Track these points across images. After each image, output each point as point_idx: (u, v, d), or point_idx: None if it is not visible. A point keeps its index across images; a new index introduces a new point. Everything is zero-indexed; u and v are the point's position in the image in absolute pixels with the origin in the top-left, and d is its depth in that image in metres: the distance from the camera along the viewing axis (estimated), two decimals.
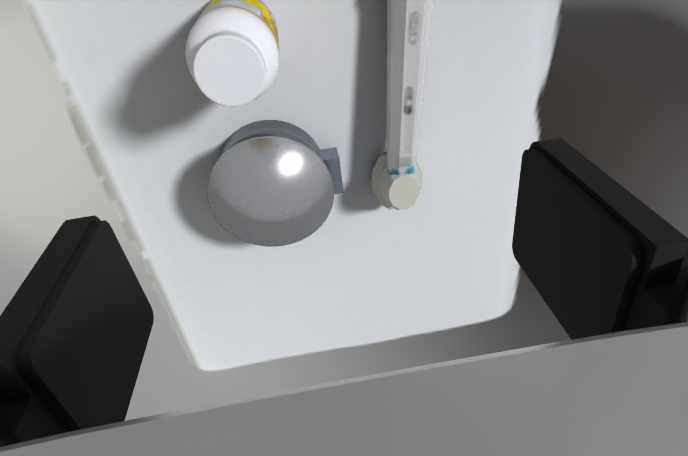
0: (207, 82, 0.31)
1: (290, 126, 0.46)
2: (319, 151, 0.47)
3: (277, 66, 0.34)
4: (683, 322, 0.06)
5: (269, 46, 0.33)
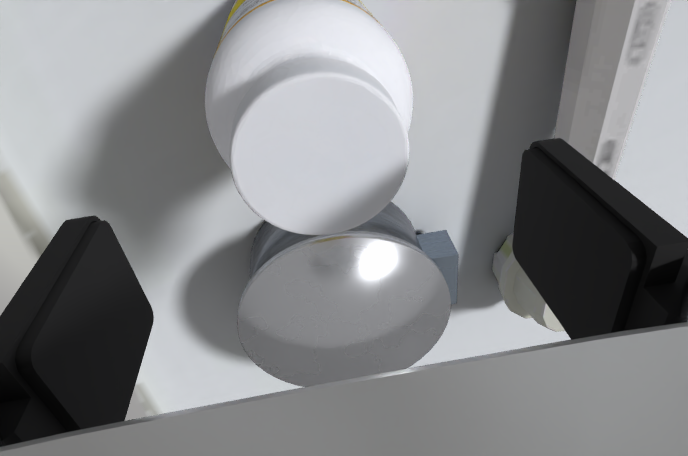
0: (264, 187, 0.12)
1: None
2: (419, 238, 0.28)
3: (408, 128, 0.15)
4: (683, 322, 0.06)
5: (402, 87, 0.14)
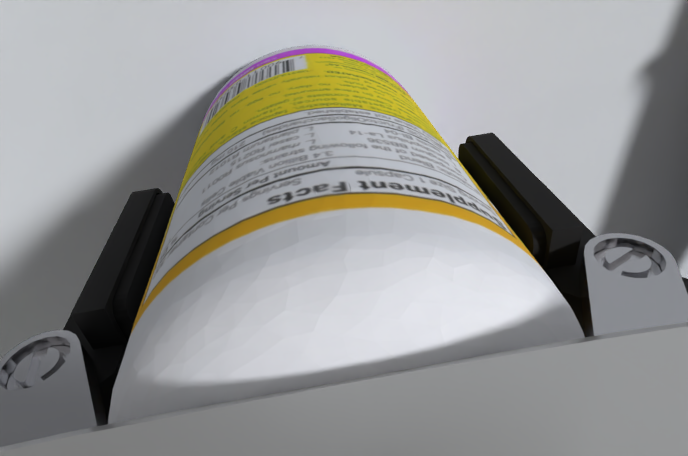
0: None
1: None
2: None
3: None
4: (586, 309, 0.06)
5: None
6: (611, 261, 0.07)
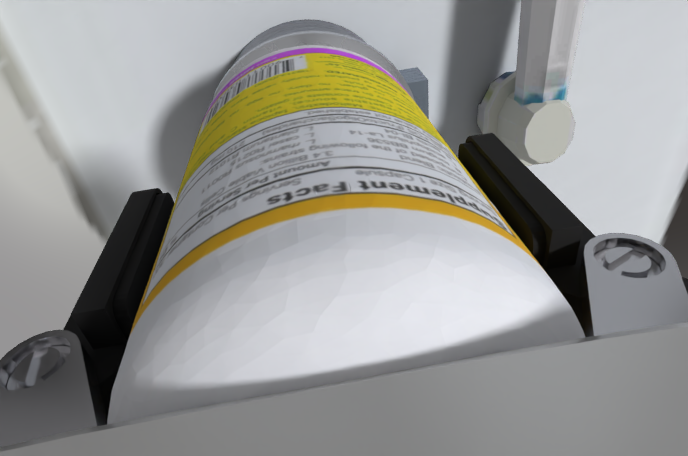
0: None
1: (343, 29, 0.27)
2: None
3: None
4: (586, 309, 0.06)
5: None
6: (611, 261, 0.07)
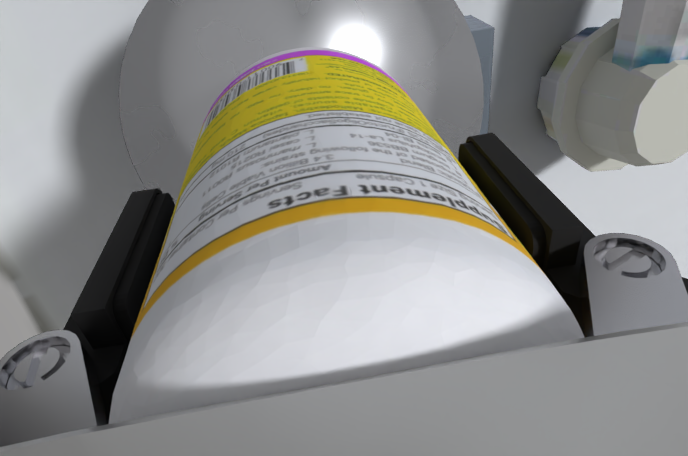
0: None
1: None
2: None
3: None
4: (586, 309, 0.06)
5: None
6: (611, 261, 0.07)
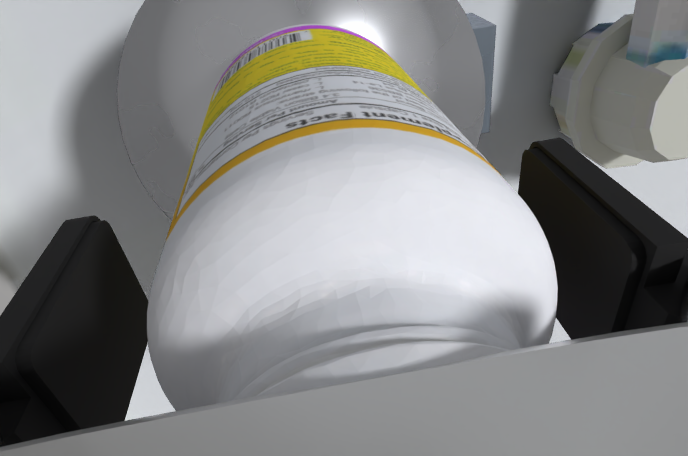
0: None
1: None
2: None
3: None
4: (683, 322, 0.06)
5: (550, 308, 0.07)
6: None
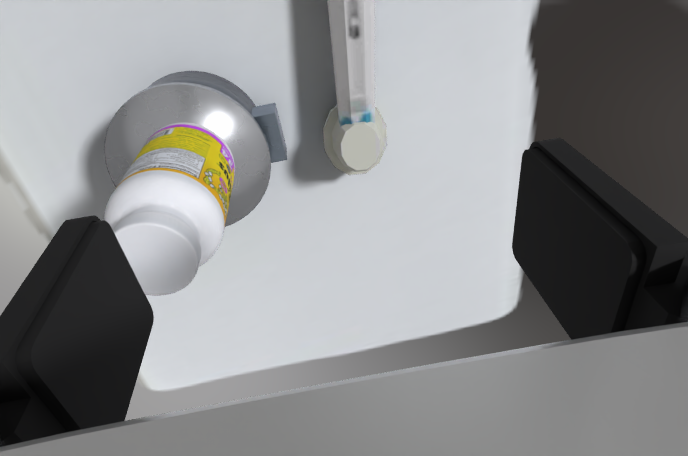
0: None
1: (214, 77, 0.37)
2: (253, 108, 0.37)
3: (221, 233, 0.27)
4: (683, 322, 0.06)
5: (207, 215, 0.26)
6: None
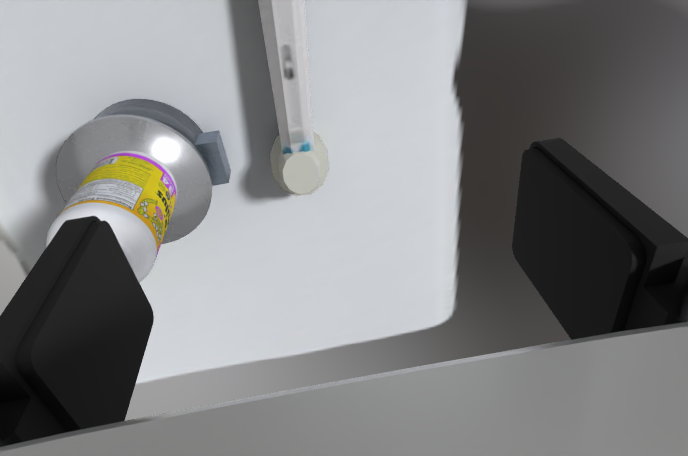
0: None
1: (162, 105, 0.40)
2: (198, 135, 0.41)
3: (152, 257, 0.31)
4: (683, 322, 0.06)
5: (139, 243, 0.30)
6: None
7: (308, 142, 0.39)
